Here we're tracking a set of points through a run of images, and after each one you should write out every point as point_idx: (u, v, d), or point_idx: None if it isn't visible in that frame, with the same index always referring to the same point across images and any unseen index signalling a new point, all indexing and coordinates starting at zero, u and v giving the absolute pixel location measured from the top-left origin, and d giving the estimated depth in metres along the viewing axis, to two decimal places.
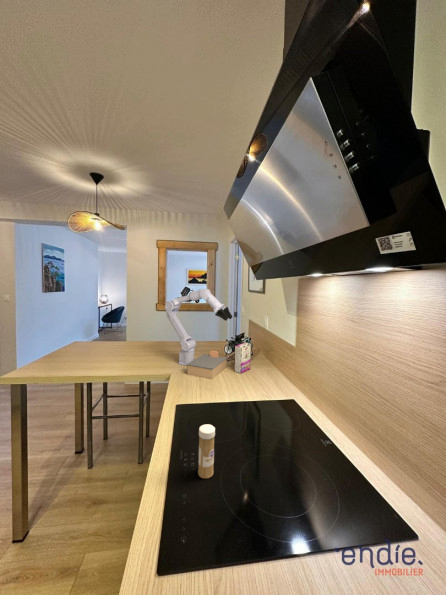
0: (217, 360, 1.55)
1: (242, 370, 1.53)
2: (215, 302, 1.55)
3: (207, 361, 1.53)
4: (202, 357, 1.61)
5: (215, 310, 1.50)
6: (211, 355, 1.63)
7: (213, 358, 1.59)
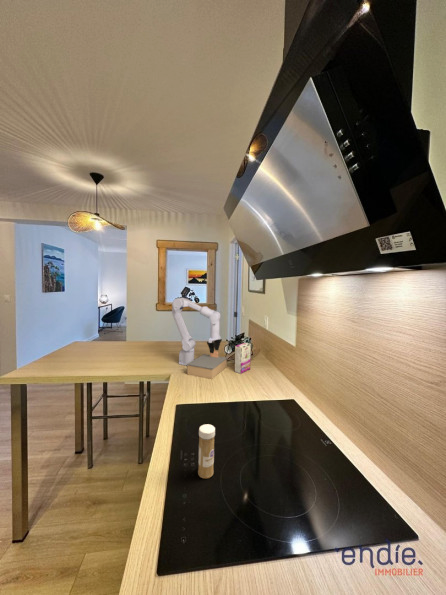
0: (217, 360, 1.55)
1: (242, 370, 1.53)
2: (215, 332, 1.59)
3: (207, 361, 1.53)
4: (202, 357, 1.61)
5: (209, 341, 1.56)
6: (211, 355, 1.63)
7: (213, 358, 1.59)
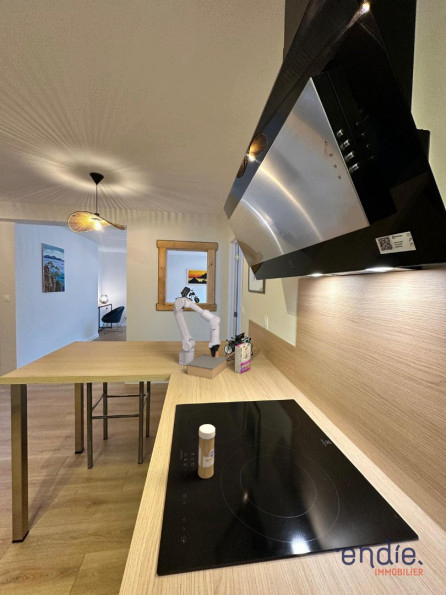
0: (217, 360, 1.55)
1: (242, 370, 1.53)
2: (215, 337, 1.60)
3: (207, 361, 1.53)
4: (202, 357, 1.61)
5: (209, 346, 1.56)
6: (211, 355, 1.63)
7: (213, 358, 1.59)
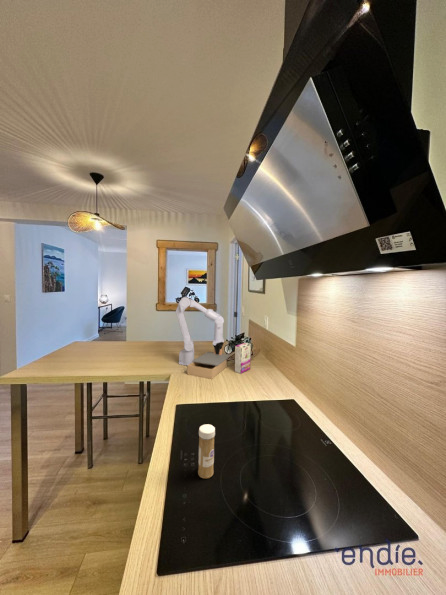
0: (221, 357, 1.61)
1: (242, 370, 1.53)
2: (219, 335, 1.65)
3: (211, 358, 1.58)
4: (206, 354, 1.66)
5: (213, 343, 1.62)
6: (215, 353, 1.69)
7: (217, 355, 1.65)
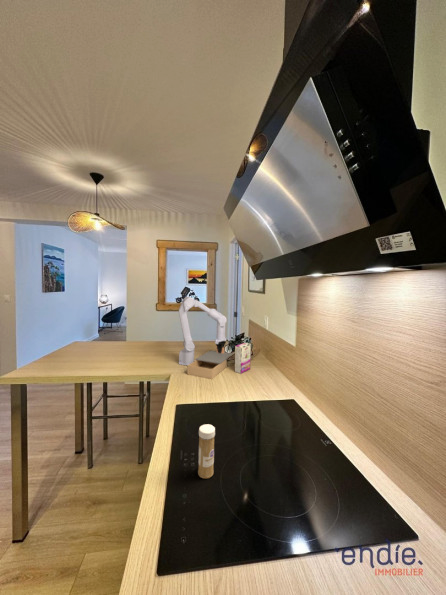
0: (223, 356, 1.65)
1: (242, 370, 1.53)
2: (222, 334, 1.69)
3: (214, 357, 1.62)
4: (209, 353, 1.70)
5: (216, 342, 1.65)
6: (217, 351, 1.73)
7: (219, 354, 1.69)
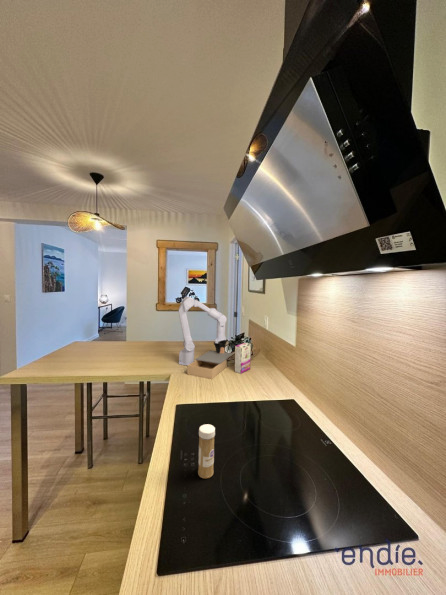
0: (223, 356, 1.65)
1: (242, 370, 1.53)
2: (222, 333, 1.69)
3: (214, 357, 1.62)
4: (209, 353, 1.70)
5: (216, 341, 1.65)
6: None
7: (219, 354, 1.69)
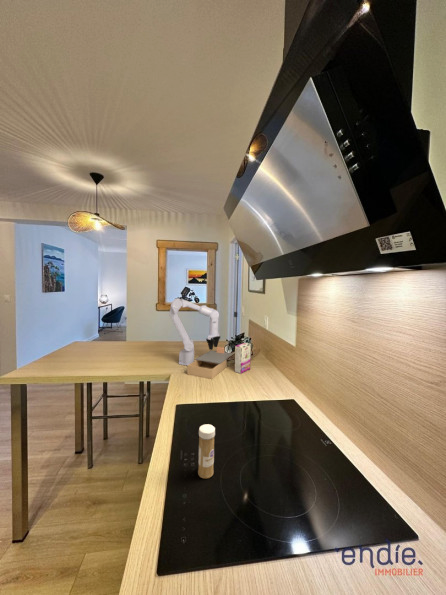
0: (223, 356, 1.65)
1: (242, 370, 1.53)
2: (214, 329, 1.65)
3: (214, 357, 1.62)
4: (209, 353, 1.70)
5: (209, 338, 1.61)
6: (217, 351, 1.73)
7: (219, 354, 1.69)
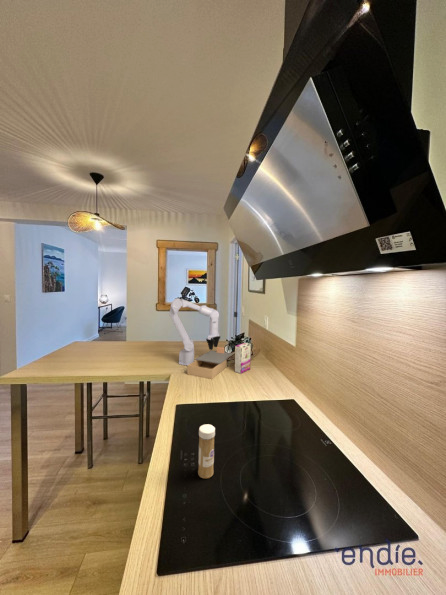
0: (223, 356, 1.65)
1: (242, 370, 1.53)
2: (214, 329, 1.65)
3: (214, 357, 1.62)
4: (209, 353, 1.70)
5: (209, 338, 1.61)
6: (217, 351, 1.73)
7: (219, 354, 1.69)
